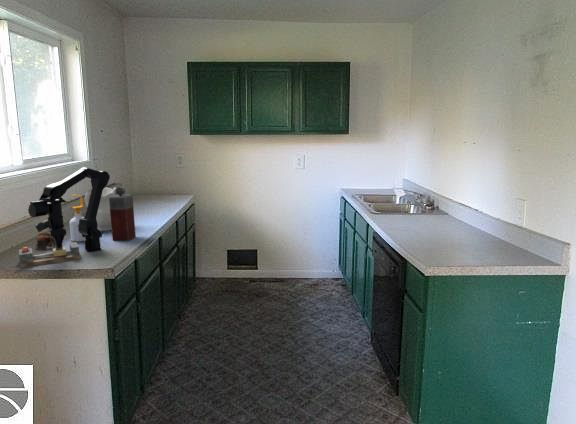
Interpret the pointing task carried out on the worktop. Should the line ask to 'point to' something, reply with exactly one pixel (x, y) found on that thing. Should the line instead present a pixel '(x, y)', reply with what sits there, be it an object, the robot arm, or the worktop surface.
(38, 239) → the pottery mug
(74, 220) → the soap bottle
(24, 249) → the orange ball
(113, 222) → the brown syrup bottle
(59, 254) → the carriage
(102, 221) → the ceramic pitcher
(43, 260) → the rail board
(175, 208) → the worktop surface
